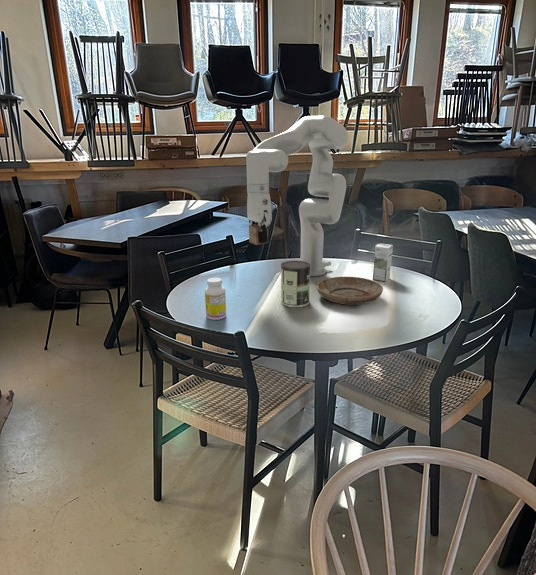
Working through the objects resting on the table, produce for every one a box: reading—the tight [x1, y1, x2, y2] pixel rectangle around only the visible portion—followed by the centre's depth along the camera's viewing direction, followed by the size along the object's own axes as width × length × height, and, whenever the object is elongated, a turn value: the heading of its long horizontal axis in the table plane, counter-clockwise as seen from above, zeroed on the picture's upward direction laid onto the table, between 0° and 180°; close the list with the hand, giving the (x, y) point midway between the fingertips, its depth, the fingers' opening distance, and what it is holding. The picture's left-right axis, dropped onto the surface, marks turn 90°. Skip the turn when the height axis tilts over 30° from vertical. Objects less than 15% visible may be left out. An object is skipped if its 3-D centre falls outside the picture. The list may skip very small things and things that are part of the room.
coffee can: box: [280, 260, 311, 308], centre depth 152 cm, size 10×10×14 cm
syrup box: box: [372, 243, 394, 283], centre depth 176 cm, size 6×6×14 cm
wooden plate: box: [316, 276, 384, 306], centre depth 157 cm, size 23×24×5 cm
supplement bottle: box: [204, 277, 227, 321], centre depth 141 cm, size 7×7×13 cm
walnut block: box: [248, 224, 269, 246], centre depth 153 cm, size 5×5×6 cm
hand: (258, 240), depth 154 cm, fingers closed on walnut block, 5 cm apart
